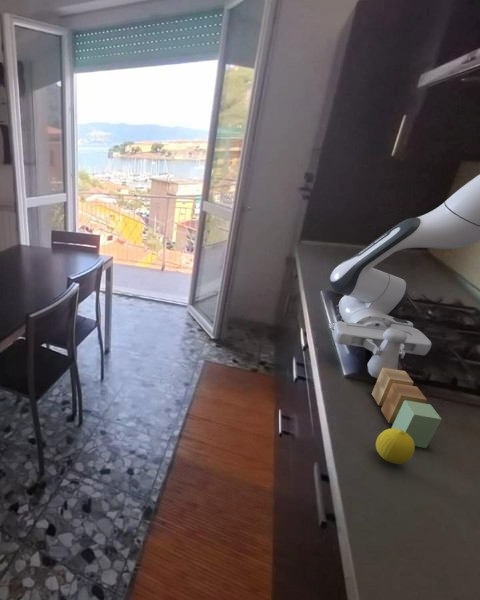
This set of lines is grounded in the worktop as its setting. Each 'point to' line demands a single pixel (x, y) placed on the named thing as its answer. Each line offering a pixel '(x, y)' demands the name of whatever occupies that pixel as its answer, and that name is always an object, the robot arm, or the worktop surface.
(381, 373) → the block
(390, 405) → the block
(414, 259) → the worktop surface
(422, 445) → the block
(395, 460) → the lemon
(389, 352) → the salt shaker
